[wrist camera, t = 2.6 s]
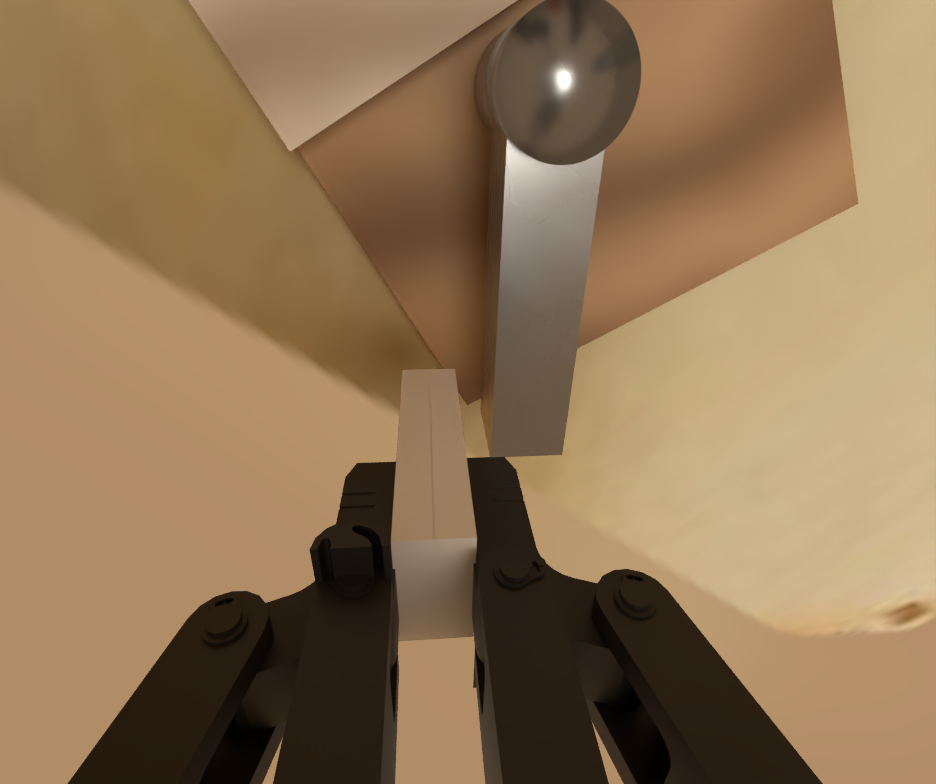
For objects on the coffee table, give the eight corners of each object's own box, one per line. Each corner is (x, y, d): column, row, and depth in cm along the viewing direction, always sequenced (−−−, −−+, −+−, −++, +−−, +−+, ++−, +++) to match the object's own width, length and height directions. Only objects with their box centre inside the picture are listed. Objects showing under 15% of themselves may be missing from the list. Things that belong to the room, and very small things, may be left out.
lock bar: (475, 20, 14) (499, -11, 10) (585, 24, 15) (654, -5, 10) (467, 390, 21) (479, 469, 16) (545, 388, 21) (578, 465, 16)
